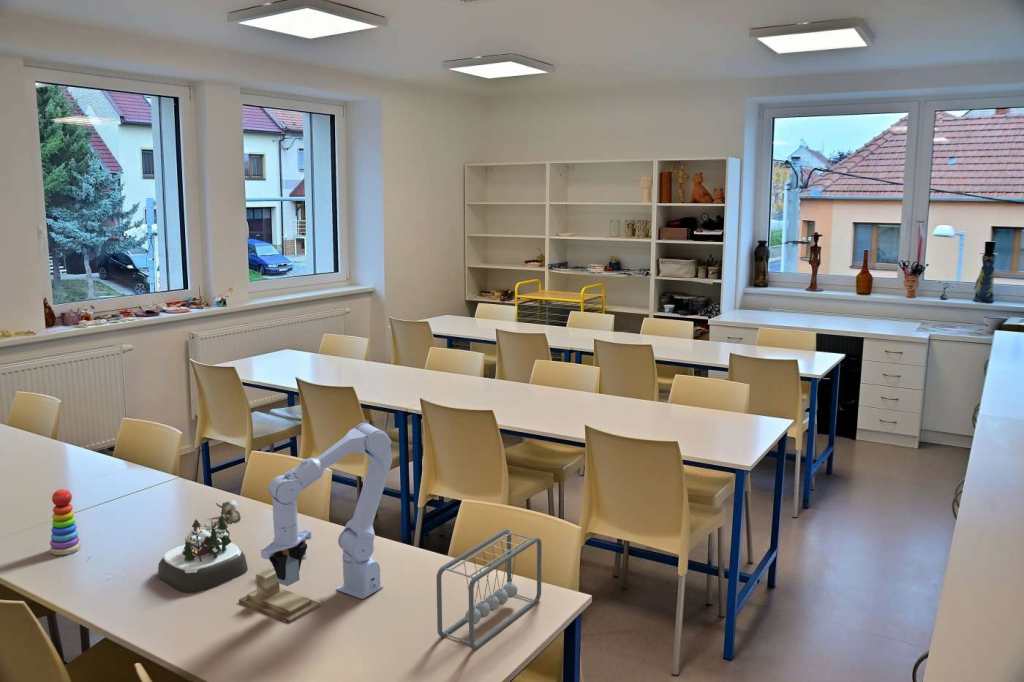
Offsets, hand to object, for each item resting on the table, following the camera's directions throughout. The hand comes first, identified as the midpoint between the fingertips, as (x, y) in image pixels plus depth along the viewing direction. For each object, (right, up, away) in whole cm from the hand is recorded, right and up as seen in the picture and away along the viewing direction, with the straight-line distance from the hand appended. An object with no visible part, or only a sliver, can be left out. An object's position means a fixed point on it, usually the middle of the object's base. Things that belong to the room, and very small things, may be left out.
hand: (288, 575), depth 204 cm
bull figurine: (-7, -5, +26) cm, 27 cm away
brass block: (-7, -6, +6) cm, 11 cm away
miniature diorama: (-30, -6, +21) cm, 37 cm away
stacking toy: (-75, -3, +35) cm, 83 cm away
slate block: (0, -2, +1) cm, 2 cm away
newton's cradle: (+51, -10, -3) cm, 52 cm away
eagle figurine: (-35, +1, +59) cm, 68 cm away
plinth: (-3, -9, +4) cm, 10 cm away
